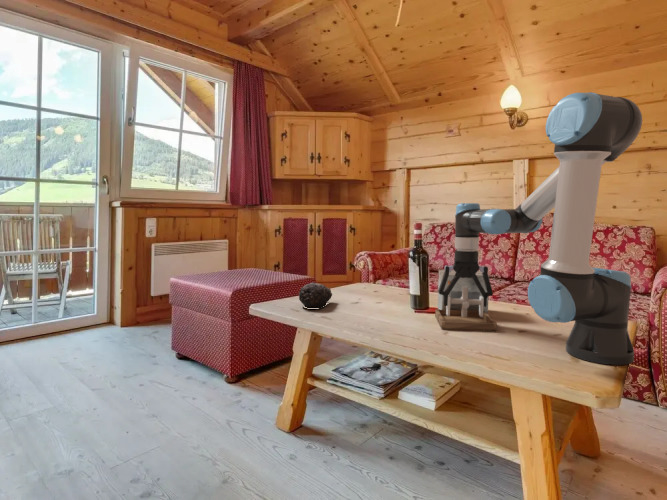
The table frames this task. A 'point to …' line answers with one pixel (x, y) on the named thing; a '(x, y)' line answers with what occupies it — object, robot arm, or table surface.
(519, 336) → the table surface
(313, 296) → the black oval piece
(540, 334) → the table surface
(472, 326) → the tray
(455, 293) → the box
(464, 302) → the pipe connector
